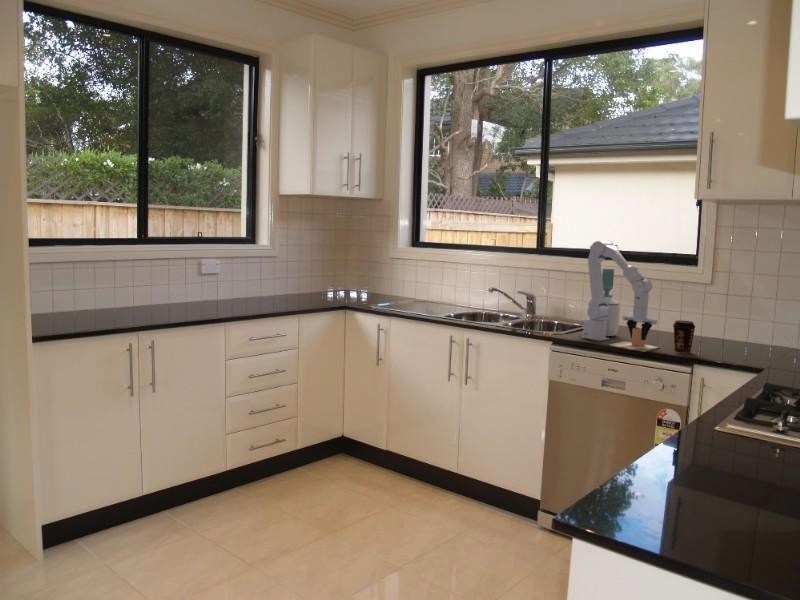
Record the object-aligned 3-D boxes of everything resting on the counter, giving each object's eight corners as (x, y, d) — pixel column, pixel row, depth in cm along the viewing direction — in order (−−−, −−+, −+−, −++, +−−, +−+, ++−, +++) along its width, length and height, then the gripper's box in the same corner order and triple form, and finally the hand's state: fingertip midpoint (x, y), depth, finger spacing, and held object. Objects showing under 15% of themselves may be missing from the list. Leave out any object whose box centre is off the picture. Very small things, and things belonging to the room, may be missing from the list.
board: (608, 345, 294) (608, 344, 294) (624, 342, 303) (625, 341, 303) (644, 351, 282) (644, 350, 282) (659, 348, 292) (659, 347, 292)
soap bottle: (589, 336, 317) (594, 268, 314) (590, 332, 329) (594, 267, 325) (617, 338, 314) (622, 270, 310) (617, 334, 326) (622, 268, 322)
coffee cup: (673, 349, 290) (675, 319, 288) (694, 352, 286) (696, 321, 284) (669, 352, 282) (672, 321, 281) (691, 355, 278) (693, 323, 277)
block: (631, 344, 295) (632, 327, 294) (635, 343, 298) (637, 326, 297) (640, 346, 292) (641, 328, 291) (644, 345, 295) (645, 328, 294)
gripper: (661, 308, 290) (658, 340, 292) (629, 304, 301) (627, 335, 302) (653, 310, 285) (650, 342, 287) (621, 306, 296) (619, 337, 297)
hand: (638, 338), depth 294 cm, fingers open, 4 cm apart
